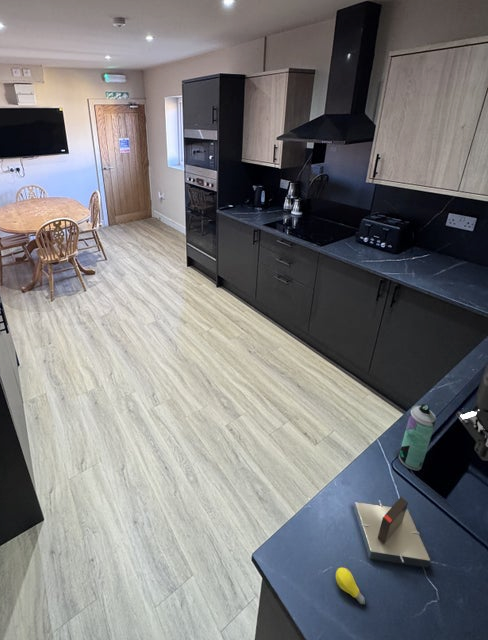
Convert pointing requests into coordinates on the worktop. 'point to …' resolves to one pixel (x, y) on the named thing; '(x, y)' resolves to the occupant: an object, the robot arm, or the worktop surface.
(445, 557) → the worktop surface
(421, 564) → the panel
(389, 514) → the brown rectangular block
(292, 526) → the worktop surface
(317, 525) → the worktop surface
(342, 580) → the light bulb
